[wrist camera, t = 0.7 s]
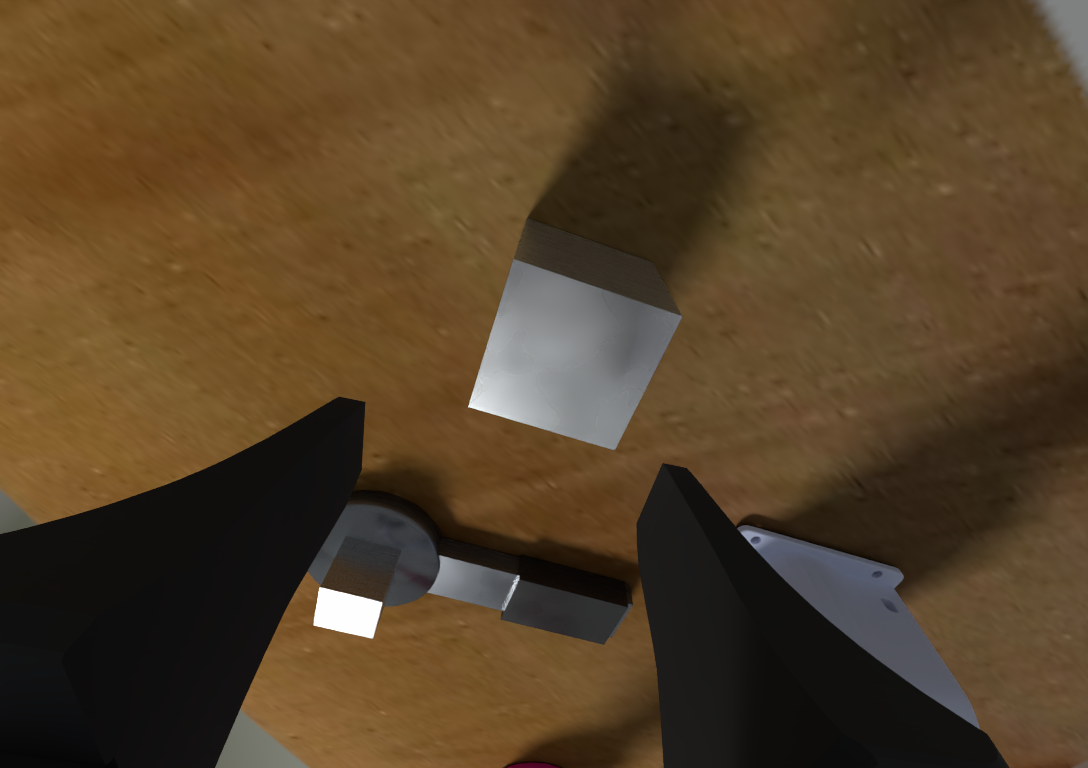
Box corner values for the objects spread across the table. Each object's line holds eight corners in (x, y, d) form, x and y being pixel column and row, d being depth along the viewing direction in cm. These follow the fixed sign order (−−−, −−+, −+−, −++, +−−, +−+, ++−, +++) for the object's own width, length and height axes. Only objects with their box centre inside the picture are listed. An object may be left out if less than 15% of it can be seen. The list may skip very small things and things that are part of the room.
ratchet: (645, 562, 27) (658, 639, 23) (597, 638, 30) (601, 716, 26) (319, 474, 25) (274, 543, 21) (306, 566, 28) (265, 640, 24)
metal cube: (652, 261, 19) (682, 316, 14) (603, 372, 21) (614, 450, 17) (526, 217, 18) (513, 259, 14) (490, 336, 21) (468, 406, 16)
